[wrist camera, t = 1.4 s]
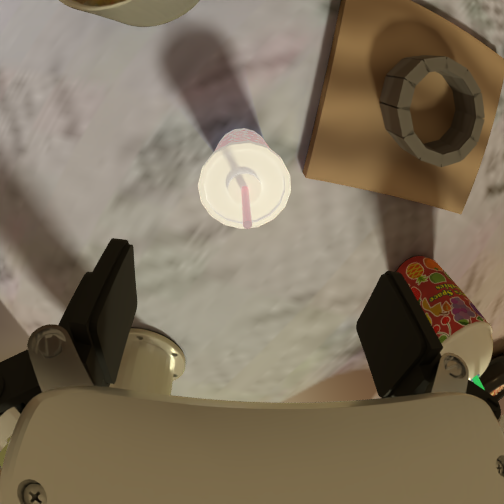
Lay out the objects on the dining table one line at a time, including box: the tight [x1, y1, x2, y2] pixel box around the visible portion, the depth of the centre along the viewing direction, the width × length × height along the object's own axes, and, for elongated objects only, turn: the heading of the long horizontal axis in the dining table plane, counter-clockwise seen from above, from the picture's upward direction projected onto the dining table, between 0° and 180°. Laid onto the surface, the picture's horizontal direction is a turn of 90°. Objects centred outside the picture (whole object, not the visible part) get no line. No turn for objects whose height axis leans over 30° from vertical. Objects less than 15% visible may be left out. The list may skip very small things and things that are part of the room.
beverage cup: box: [198, 128, 291, 229], centre depth 22 cm, size 6×6×14 cm
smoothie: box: [396, 256, 493, 390], centre depth 28 cm, size 8×8×20 cm
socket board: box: [303, 0, 504, 214], centre depth 23 cm, size 20×20×5 cm
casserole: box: [473, 355, 504, 401], centre depth 54 cm, size 25×19×8 cm
